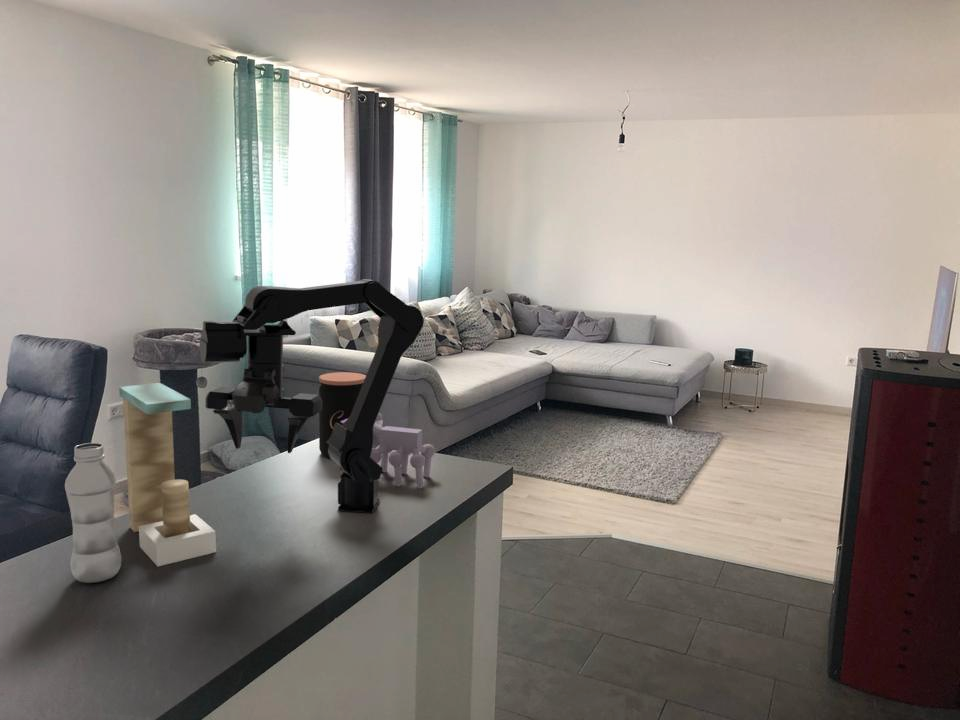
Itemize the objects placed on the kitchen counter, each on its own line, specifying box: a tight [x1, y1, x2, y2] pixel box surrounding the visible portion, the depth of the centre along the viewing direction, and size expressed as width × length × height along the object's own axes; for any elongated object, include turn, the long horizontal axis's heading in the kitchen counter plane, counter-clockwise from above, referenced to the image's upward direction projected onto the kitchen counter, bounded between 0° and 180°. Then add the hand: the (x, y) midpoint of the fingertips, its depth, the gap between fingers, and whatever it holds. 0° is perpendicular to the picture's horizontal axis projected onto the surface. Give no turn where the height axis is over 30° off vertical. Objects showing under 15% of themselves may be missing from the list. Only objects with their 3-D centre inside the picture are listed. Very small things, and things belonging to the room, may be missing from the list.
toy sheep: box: [341, 412, 436, 489], centre depth 161 cm, size 20×11×14 cm, turn 75°
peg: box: [161, 478, 191, 538], centre depth 123 cm, size 4×4×11 cm
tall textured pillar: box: [118, 382, 192, 533], centre depth 127 cm, size 8×15×24 cm, turn 39°
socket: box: [138, 513, 217, 567], centre depth 124 cm, size 9×9×4 cm
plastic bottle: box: [64, 442, 123, 584], centre depth 112 cm, size 6×7×20 cm
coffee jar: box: [318, 371, 367, 460], centre depth 176 cm, size 11×11×18 cm
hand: (263, 450), depth 134 cm, fingers open, 9 cm apart
